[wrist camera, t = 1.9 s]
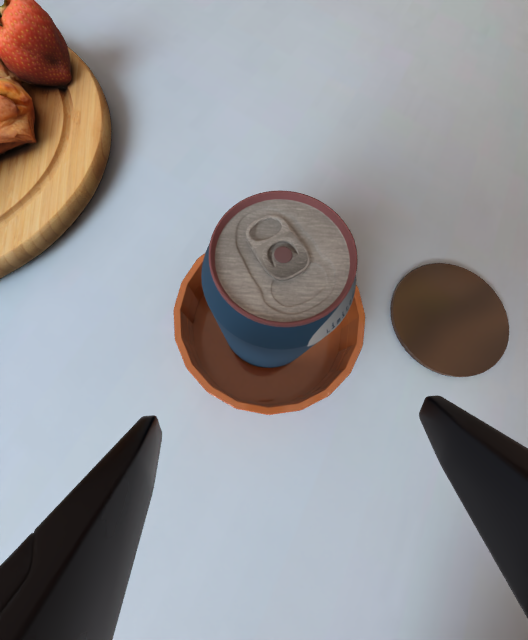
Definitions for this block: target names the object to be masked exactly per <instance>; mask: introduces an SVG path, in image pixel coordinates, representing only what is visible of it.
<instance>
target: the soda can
mask: <svg viewBox="0 0 528 640" xmlns="http://www.w3.org/2000/svg"><path fill="white" fill-rule="evenodd" d="M356 270H357V250H356V245H355V241H354V238H353V236H352V234H351V232H350V230H349V228H348V227H347V225H346V224H345V222H344V221H343V220H342V219H341V218H340V216H339V215H338V214H337V213H336V212H334V211H333V210H332V209H331V208H330V207H328V206H327V205H326V204H324V203H322V202H321V201H319V200H317V199H315V198H313V197H310V196H308V195H305V194H301V193H297V192H291V191H269V192H263V193H259V194H256V195H253V196H250V197H248V198H246V199H244V200H242V201H240V202H239V203H237V204H236V205H234V206H233V207H232V208H231V209H230V210H228V211H227V212H226V213H225V215H224V216H223V217H222V218H221V220H220V221H219V222H218V224H217V226H216V228H215V230H214V232H213V234H212V237H211V241H210V244H209V246H208V248H207V250H206V253H205V256H204V259H203V264H202V273H201V279H202V288H203V293H204V296H205V299H206V302H207V304H208V306H209V308H210V310H211V312H212V314H213V316H214V318H215V319H216V321H217V323H218V325H219V327H220V329H221V331H222V333H223V335H224V337H225V339H226V340H227V342H228V344H229V346H230V348H231V349H232V350H233V352H234V353H235V354H236V355H237V356H238V357H240V358H241V359H242V360H244V361H245V362H247V363H249V364H251V365H254V366H257V367H262V368H276V367H280V366H284V365H286V364H289V363H291V362H292V361H294V360H295V359H297V358H298V357H299V356H301V355H302V354H303V353H305V352H306V351H307V350H308V349H310V348H311V347H312V346H314V345H315V344H316V343H318V342H319V341H320V340H322V339H323V338H324V337H325V336H327V335H328V334H329V333H331V332H332V331H333V330H334V329H335V328H336V327H337V326H338V325H339V324H340V323H341V321H342V320H343V319H344V317H345V316H346V314H347V312H348V311H349V309H350V306H351V304H352V301H353V298H354V294H355V287H356Z"/></svg>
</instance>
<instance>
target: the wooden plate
mask: <svg viewBox="0 0 528 640" xmlns="http://www.w3.org/2000/svg"><path fill="white" fill-rule="evenodd" d="M110 146H111V119H110V112H109V108H108V104H107V101H106V98H105V95H104V93H103V91H102V89H101V87H100V85H99V83H98V81H97V80H96V78H95V76H94V75H93V73H92V72H91V70H90V68H89V67H88V66H87V65H86V64H85V63H84V62H83V61H82V60H81V58H80V57H79V56H78V55H77V54H76V53H75V52H73V51H72V50H71V49H70V48H69V47H68V46H67V44H66V42H65V40H64V38H63V36H62V34H61V33H60V31H59V30H58V28H57V27H56V25H55V24H54V22H53V20H52V18H51V17H50V16H49V15H48V13H47V12H46V11H44V10H43V9H42V8H41V6H40V5H39V4H38V3H36V2H35V1H34V0H4V4H3V5H2V6H0V278H2V277H4V276H6V275H7V274H9V273H11V272H13V271H15V270H16V269H18V268H20V267H21V266H23V265H25V264H26V263H28V262H29V261H31V260H32V259H34V258H35V257H37V256H38V255H40V254H41V253H42V252H43V251H45V250H46V249H47V248H48V247H49V246H50V245H52V244H53V243H54V242H55V241H56V240H57V239H58V238H59V237H60V236H61V235H62V234H63V233H64V232H65V231H66V230H67V229H68V228H69V227H70V226H71V225H72V224H73V223H74V221H75V220H76V219H77V217H78V216H79V215H80V214H81V212H82V211H83V210H84V208H85V207H86V206H87V204H88V203H89V201H90V200H91V198H92V197H93V195H94V193H95V191H96V189H97V187H98V185H99V183H100V181H101V179H102V176H103V173H104V171H105V168H106V164H107V161H108V157H109V153H110Z"/></svg>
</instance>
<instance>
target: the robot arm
mask: <svg viewBox="0 0 528 640" xmlns="http://www.w3.org/2000/svg"><path fill="white" fill-rule="evenodd" d="M419 417H420V420H421V423H422V425H423V427H424V429H425V431H426V434H427V436H428V438H429V440H430V443H431V445H432V447H433V449H434V451H435V454H436V456H437V458H438V460H439V462H440V464H441V466H442V468H443V470H444V472H445V473H446V475H447V477H448V479H449V480H450V482H451V484H452V486H453V488H454V489H455V491H456V493H457V495H458V496H459V498H460V500H461V502H462V503H463V505H464V507H465V509H466V511H467V512H468V514H469V516H470V518H471V519H472V521H473V523H474V525H475V526H476V528H477V530H478V532H479V533H480V535H481V537H482V539H483V541H484V542H485V544H486V546H487V548H488V549H489V551H490V553H491V555H492V556H493V558H494V560H495V562H496V563H497V565H498V567H499V569H500V571H501V572H502V574H503V576H504V578H505V579H506V581H507V583H508V585H509V586H510V588H511V590H512V592H513V594H514V595H515V597H516V599H517V601H518V602H519V604H520V606H521V608H522V609H523V611H524V613H525V615H526V616H527V618H528V448H526V447H524V446H523V445H521V444H519V443H518V442H516V441H514V440H513V439H511V438H509V437H508V436H506V435H504V434H503V433H501V432H499V431H498V430H496V429H494V428H493V427H491V426H489V425H488V424H486V423H484V422H483V421H481V420H479V419H478V418H476V417H474V416H473V415H471V414H469V413H468V412H466V411H464V410H463V409H461V408H459V407H458V406H456V405H454V404H453V403H451V402H449V401H448V400H446V399H444V398H443V397H441V396H428V397H426V398H425V400H424V403H423V405H422V407H421V410H420V413H419ZM161 441H162V431H161V428H160V425H159V422H158V419H157V417H156V416H143V417H142V418H140V419H139V420H138V421H137V423H136V424H135V425H134V426H133V427H132V428H131V429H130V430H129V431H128V432H127V433H126V434H125V435H124V436H123V437H122V438H121V439H120V440H119V442H118V443H117V444H116V445H115V446H114V447H113V448H112V449H111V450H110V451H109V452H108V453H107V454H106V455H105V456H104V457H103V458H102V459H101V461H100V462H99V463H98V464H97V465H96V466H95V467H94V468H93V469H92V470H91V471H90V472H89V473H88V474H87V475H86V476H85V477H84V478H83V480H82V481H81V482H80V483H79V484H78V485H77V486H76V487H75V488H74V489H73V490H72V491H71V492H70V493H69V494H68V495H67V496H66V497H65V499H64V500H63V501H62V502H61V503H60V504H59V505H58V506H57V507H56V508H55V509H54V510H53V511H52V512H51V513H50V514H49V515H48V516H47V518H46V519H45V520H44V521H43V522H42V523H41V524H40V525H39V526H38V527H37V528H36V529H35V531H34V533H32V534H30V535H29V536H28V537H27V538H26V540H25V541H24V542H23V543H22V544H21V545H20V546H19V547H18V548H17V549H16V550H15V551H14V552H13V553H12V554H11V555H10V556H9V557H8V558H7V559H6V560H5V561H4V562H3V563H2V564H1V565H0V640H112V639H113V635H114V632H115V628H116V624H117V621H118V617H119V613H120V610H121V606H122V603H123V599H124V595H125V592H126V588H127V584H128V581H129V577H130V573H131V570H132V566H133V562H134V559H135V555H136V551H137V548H138V544H139V540H140V537H141V533H142V529H143V526H144V522H145V519H146V515H147V511H148V508H149V504H150V500H151V497H152V492H153V488H154V483H155V477H156V471H157V465H158V459H159V453H160V447H161Z"/></svg>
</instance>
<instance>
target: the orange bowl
mask: <svg viewBox="0 0 528 640" xmlns="http://www.w3.org/2000/svg"><path fill="white" fill-rule="evenodd" d="M204 256H205V253H204V254H203V255H202V256H201V257H199V258H198V259H197V260H196V262H195V263H194V265H193V266H192V268H191V269H190V271H189V272H188V274H187V275H186V276H185V278H184V279H183V281H182V283H181V286H180V289H179V293H178V296H177V300H176V303H175V307H174V329H175V341H176V343H177V346H178V348H179V351H180V353H181V356H182V358H183V361H184V363H185V366H186V368H187V369H188V371H189V372H190V373H191V374H192V375H193V376H194V377H195V379H196V380H197V381H198V382H199V383H200V384H201V386H202V387H203V388H204V389H205V390H206V391H207V392H208V393H209V394H211V395H213V396H215V397H216V398H218V399H220V400H222V401H223V402H225V403H227V404H229V405H230V406H232V407H234V408H236V409H240V410H245V411H250V412H255V413H261V414H266V415H272V414H279V413H286V412H293V411H300V410H303V409H304V408H306V407H308V406H310V405H312V404H314V403H316V402H318V401H320V400H322V399H324V398H326V397H328V396H329V395H330V394H331V393H332V392H333V391H334V390H335V389H336V388H337V387H338V386H339V385H340V384H341V383H342V382H343V381H344V380H345V378H346V377H347V376H348V375H349V374H350V373H351V371H352V369H353V367H354V364H355V362H356V360H357V358H358V355H359V353H360V351H361V349H362V345H363V337H364V326H365V313H364V309H363V305H362V301H361V297H360V292H359V289H358V287H357V285H356V287H355V294H354V298H353V301H352V304H351V306H350V309H349V311H348V312H347V314H346V316H345V317H344V319H343V320H342V321H341V323H340V324H339V325H338V326H337V327H336V328H335V329H334V330H333V331H332V332H331V333H329V334H328V335H327V336H325V337H324V338H323V339H322V340H320V341H319V342H318V343H316V344H315V345H314V346H312V347H311V348H310V349H308V350H307V351H306V352H305V353H303V354H302V355H301V356H299V357H298V358H297V359H295V360H294V361H292V362H291V363H289V364H286V365H284V366H280V367H276V368H262V367H257V366H254V365H251V364H249V363H247V362H245V361H244V360H242V359H241V358H240V357H238V356H237V355H236V354H235V353H234V352H233V350H232V349H231V348H230V346H229V344H228V342H227V340H226V339H225V337H224V335H223V333H222V331H221V329H220V327H219V325H218V323H217V321H216V319H215V318H214V316H213V314H212V312H211V310H210V308H209V306H208V304H207V302H206V299H205V296H204V293H203V288H202V279H201V273H202V264H203V259H204Z"/></svg>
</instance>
